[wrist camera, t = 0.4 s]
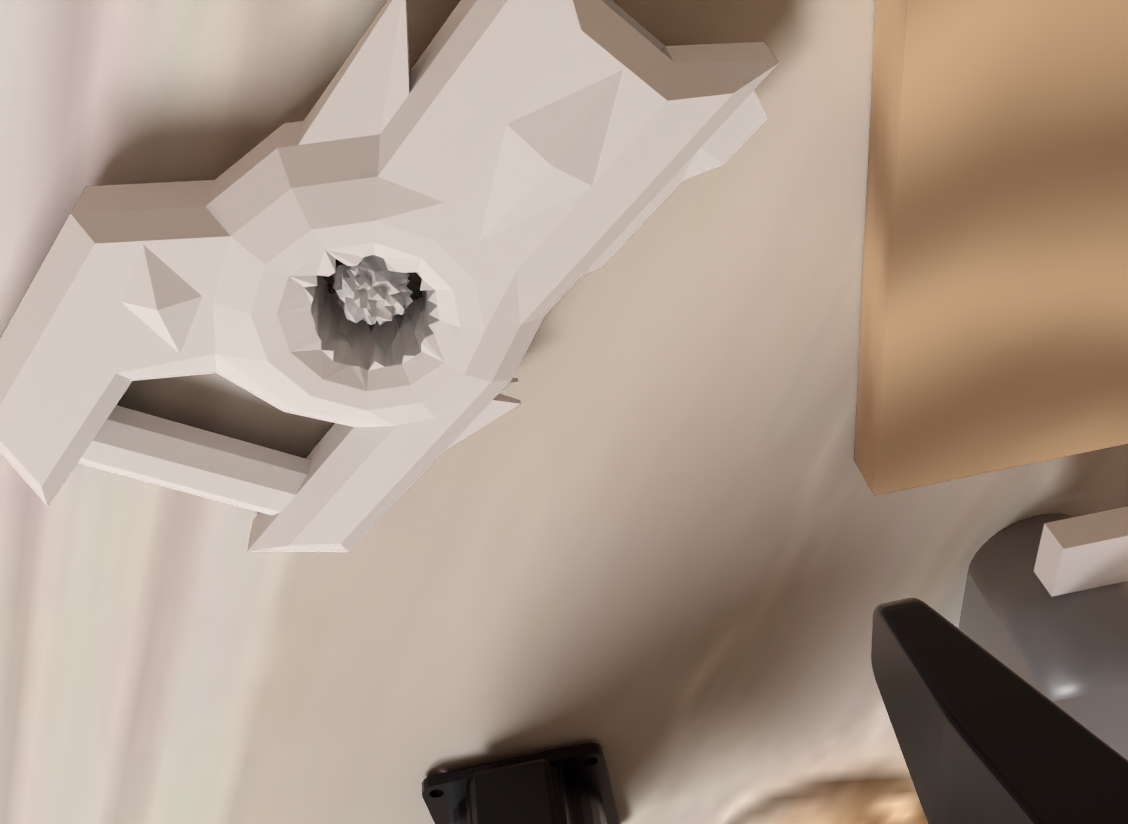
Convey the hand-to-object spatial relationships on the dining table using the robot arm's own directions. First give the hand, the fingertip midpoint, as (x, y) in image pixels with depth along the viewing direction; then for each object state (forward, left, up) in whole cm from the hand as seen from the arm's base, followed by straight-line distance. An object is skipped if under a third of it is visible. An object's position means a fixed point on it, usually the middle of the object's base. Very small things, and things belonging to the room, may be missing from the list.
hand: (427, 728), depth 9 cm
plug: (-20, -16, -14) cm, 29 cm away
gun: (-2, +2, -14) cm, 15 cm away
